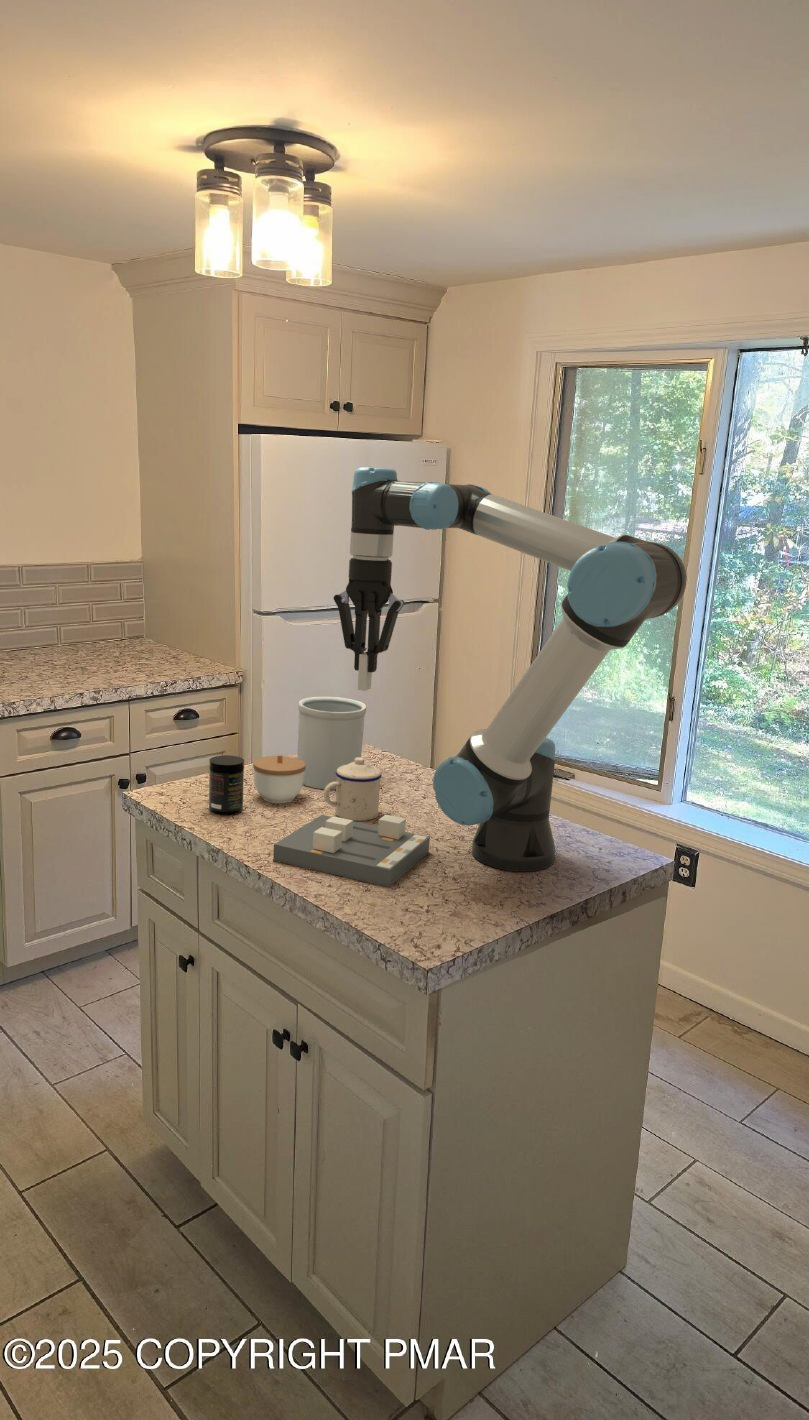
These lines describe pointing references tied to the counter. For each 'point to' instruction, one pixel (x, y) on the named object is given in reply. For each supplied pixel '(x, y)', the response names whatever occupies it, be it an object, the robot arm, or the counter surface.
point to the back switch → (391, 826)
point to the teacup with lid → (356, 791)
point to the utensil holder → (328, 737)
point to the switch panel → (354, 853)
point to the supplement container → (226, 784)
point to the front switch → (327, 840)
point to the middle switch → (341, 826)
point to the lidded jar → (279, 778)
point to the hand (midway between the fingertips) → (364, 688)
